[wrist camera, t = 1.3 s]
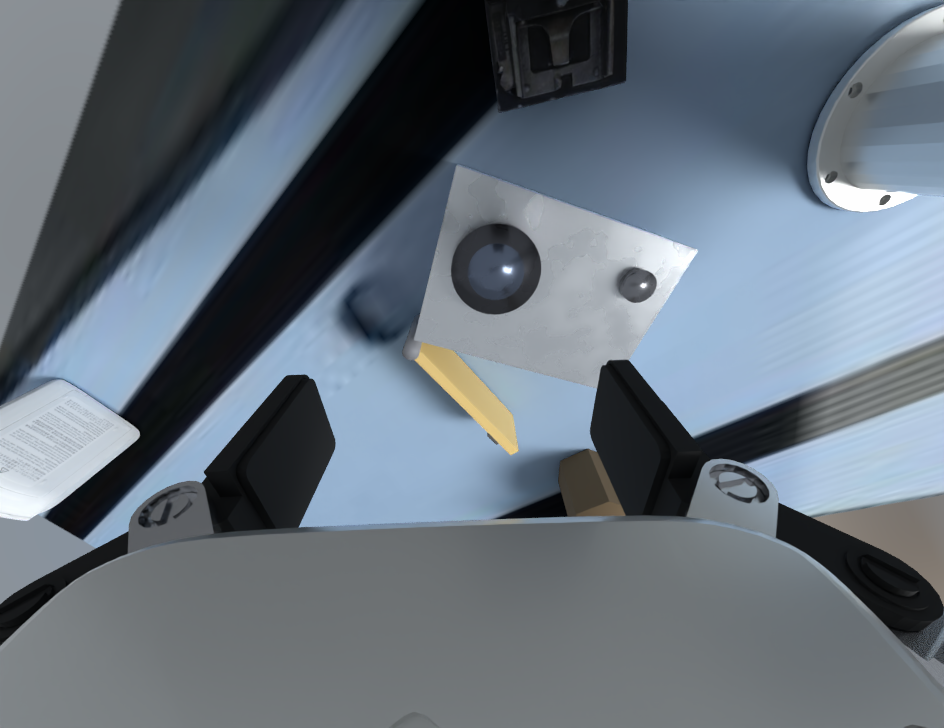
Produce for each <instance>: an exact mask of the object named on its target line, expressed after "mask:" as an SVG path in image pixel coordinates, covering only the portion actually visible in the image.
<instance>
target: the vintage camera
mask: <svg viewBox="0 0 944 728" xmlns="http://www.w3.org/2000/svg"><path fill="white" fill-rule="evenodd" d="M484 1H485V9H486V17H487V25H488V33H489V41H490V49H491V56H492V64H493V71H494V79H495V87H496V95H497V103H498V112H499V113H502V112H506V111H510V110H514V109H518V108H522V107H526V106H530V105H534V104H538V103H542V102H546V101H550V100H555V99H559V98H563V97H568V96H572V95H576V94H580V93H584V92H588V91H593V90H597V89H601V88H605V87H609V86H613V85H617V84H621V83H625V82H626V62H627V17H628V0H484Z"/></svg>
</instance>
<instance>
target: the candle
mask: <svg viewBox="0 0 944 728" xmlns="http://www.w3.org/2000/svg"><path fill="white" fill-rule="evenodd" d="M558 482H559V486H560V490H561V493H562V497H563V500H564V504H565V508H566V511H567V515H568V517H584V516H626V515H625V513H624V511H623V508H622V506H621V504H620V502H619V499H618V497H617V495H616V493H615V491H614V488H613V486H612V484H611V482H610V479H609V477H608V475H607V473H606V470H605V468H604V466H603V464H602V461H601V459H600V457H599V455H598V452H595V451H592V450H590V449H586V450H584V451H582V452H579V453H577V454H575V455H572V456H570V457H568V458H566V459H563V460H561V461H560V467H559V478H558Z"/></svg>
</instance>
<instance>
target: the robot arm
mask: <svg viewBox="0 0 944 728" xmlns="http://www.w3.org/2000/svg"><path fill="white" fill-rule="evenodd" d="M807 170H808V176H809V182H810V184H811V186H812V189H813V191H814V193H815V194H816V195H817V196H818V198H819V199H820V200H821V201H822V202H824V203H825V204H827V205H829V206H830V207H832V208H836V209H840V210H844V211H852V212H871V211H878V210H882V209H886V208H889V207H893V206H895V205H898V204H900V203H902V202H905V201H907V200H909V199H911V198H913V197H915V196H917V195H927V196H941V197H944V4H942V5H940V6H937V7H934V8H931V9H928V10H925V11H923V12H921V13H920V14H918V15H916V16H914V17H912V18H910V19H908V20H906V21H904V22H903V23H901V24H900V25H898V26H897V27H895V28H894V29H893V30H891V31H890V32H888V33H887V34H886V35H884V36H883V37H882V38H880V39H879V40H878V41H877V42H876V43H875V44H874V45H873V46H871V47H870V48H869V49H868V50H867V51H866V52H865V53H864V54H863V55H862V56H861V57H860V58H859V59H858V60H857V61H856V63H855V64H854V65H853V66H852V67H851V68H850V69H849V70H848V71H847V73H846V74H845V75H844V77H843V78H842V79H841V81H840V82H839V84H838V85H837V86H836V88H835V89H834V91H833V92H832V93H831V95H830V97H829V99H828V101H827V102H826V104H825V106H824V108H823V110H822V111H821V113H820V116H819V118H818V121H817V123H816V126H815V128H814V131H813V133H812V137H811V141H810V145H809V150H808V161H807ZM590 434H591V439H592V441H593V443H594V446H595V448H596V450H597V452H598V455H599V457H600V459H601V461H602V464H603V466H604V468H605V470H606V473H607V475H608V477H609V479H610V482H611V484H612V486H613V488H614V491H615V493H616V495H617V497H618V499H619V502H620V504H621V506H622V508H623V511H624V513H625V515H626V516H584V517H554V518H524V519H494V520H468V521H441V522H416V523H391V524H368V525H346V526H323V527H301V528H298V527H299V525H300V523H301V521H302V519H303V517H304V514H305V512H306V510H307V508H308V506H309V504H310V501H311V499H312V497H313V495H314V493H315V491H316V489H317V486H318V484H319V482H320V480H321V478H322V476H323V474H324V471H325V469H326V467H327V465H328V463H329V461H330V459H331V456H332V454H333V452H334V450H335V438H334V435H333V432H332V429H331V427H330V424H329V421H328V418H327V415H326V412H325V409H324V406H323V404H322V401H321V398H320V395H319V392H318V389H317V386H316V383H315V381H314V380H313V379H309V377H308V376H307V375H288V376H286V377H284V379H283V380H282V381H281V382H280V383H279V384H278V386H277V387H276V388H275V389H274V390H273V391H272V393H271V394H270V395H269V396H268V397H267V398H266V400H265V401H264V402H263V403H262V404H261V405H260V407H259V408H258V409H257V410H256V411H255V412H254V414H253V415H252V416H251V417H250V418H249V419H248V421H247V422H246V423H245V424H244V425H243V426H242V428H241V429H240V430H239V431H238V432H237V433H236V435H235V436H234V437H233V438H232V439H231V441H230V442H229V443H228V444H227V445H226V446H225V448H224V449H223V450H222V451H221V452H220V453H219V455H218V456H217V457H216V458H215V459H214V460H213V462H212V463H211V464H210V465H209V466H208V467H207V469H206V470H205V471H204V473H205V475H206V476H207V477H206V478H205V480H204V481H203V482H202V483H199V482H197V481H186V482H181V483H177V484H174V485H172V486H169V487H167V488H165V489H163V490H161V491H159V492H157V493H156V494H154V495H153V496H151V497H150V498H149V499H147V500H146V501H145V502H144V503H143V504H142V505H141V506H139V507H138V508H137V510H136V511H135V512H134V514H133V515H132V517H131V520H130V523H129V531H128V532H126V533H125V534H123V535H121V536H119V537H117V538H115V539H113V540H111V541H110V542H108V543H106V544H104V545H102V546H100V547H98V548H96V549H94V550H93V551H91V552H89V553H87V554H85V555H83V556H81V557H79V558H77V559H76V560H74V561H72V562H70V563H68V564H66V565H64V566H63V567H60V568H59V569H57V570H55V571H53V572H51V573H49V574H47V575H45V576H43V577H42V578H40V579H38V580H36V581H34V582H33V583H31V584H29V585H27V586H26V587H24V588H22V589H21V590H19V591H17V592H16V593H14V594H13V595H11V596H10V597H9V598H7V599H6V600H5V601H4V602H3V603H2V604H0V728H944V606H943V604H942V601H941V599H940V596H939V595H938V593H937V592H936V591H935V590H934V588H933V587H932V586H931V584H930V583H929V582H928V581H927V580H926V579H924V578H923V577H922V576H921V575H920V574H919V573H918V572H917V571H915V570H914V569H913V568H911V567H910V566H908V565H907V564H906V563H904V562H903V561H901V560H900V559H898V558H896V557H894V556H892V555H891V554H889V553H887V552H884V551H883V550H881V549H879V548H876V547H874V546H872V545H870V544H868V543H865V542H863V541H861V540H859V539H857V538H854V537H852V536H850V535H848V534H846V533H843V532H841V531H839V530H837V529H835V528H833V527H831V526H828V525H826V524H824V523H822V522H820V521H817V520H815V519H813V518H811V517H809V516H807V515H804V514H802V513H800V512H798V511H796V510H793V509H791V508H789V507H787V506H785V505H782V504H780V503H778V500H779V498H778V493H777V490H776V489H775V487H774V486H773V484H772V483H771V482H770V481H769V480H768V479H767V478H766V477H765V476H764V475H762V474H761V473H759V472H758V471H756V470H755V469H753V468H751V467H749V466H747V465H744V464H742V463H739V462H736V461H732V460H726V459H715V460H710V459H709V457H708V456H707V455H706V454H705V453H704V451H703V450H702V449H701V448H700V446H699V445H698V444H697V443H696V442H695V440H694V439H693V438H692V437H691V435H690V434H689V433H688V432H687V430H686V429H685V428H684V427H683V426H682V424H681V423H680V422H679V421H678V419H677V418H676V417H675V416H674V415H673V413H672V412H671V411H670V410H669V408H668V407H667V406H666V405H665V403H664V402H663V401H661V399H660V398H659V397H658V396H657V394H656V393H655V392H654V391H653V390H652V388H651V387H650V386H649V385H648V383H647V382H646V381H645V380H644V378H643V377H642V376H641V375H640V374H639V372H638V371H637V370H636V369H635V367H634V366H633V365H632V364H631V362H630V361H629V360H609V361H608V362H607V363H606V365H602V367H601V369H600V375H599V381H598V387H597V392H596V398H595V404H594V410H593V416H592V421H591V427H590Z"/></svg>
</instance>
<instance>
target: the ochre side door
mask: <svg viewBox="0 0 944 728" xmlns="http://www.w3.org/2000/svg"><path fill="white" fill-rule="evenodd" d="M419 317H420V314H419V315H416V316H415V317H414V320H413V322H412V325H411V328H410V331H409V334H408V336H407V339H406V342H405V345H404V347H403V350H402V354H403V356H404V358H406V359H408V360H415V361H416V362H417V363H418V364H419V365H420V366H421V367H422V368H423V369H424V370H425V371H426V372H427V373H428V374H429V375H430V376H431V377H432V378H433V379H434V380H435V381H436V382H437V383H438V384H439V385H440V386H441V387H442V388H443V389H444V390H445V391H446V392H447V393H448V394H449V395H450V396H451V397H452V398H453V399H455V400H456V401H457V402H458V403H459V404H460V405H461V406H462V407H463V408H464V409H465V410H466V411H467V412H468V413H469V414H470V415H471V416H472V417H473V418H474V419H475V420H476V421H477V422H478V423H479V424H480V425H481V426H482V427H483V428H484V429H485V430H486V431H487V436H488V437H489V438H490V439H491V440H492V441H493V442H494V443H495V444H496V445H497V444H500V445H501V446H502V447H503V448H504V449H505V450H506V451H507V452H508V453H509V454H510V455H512V454H514V453H516V452H518V451H519V450H518V444H517V438H516V432H515V426H514V420H513V415H512V414H511V412H510V411H509V410H508V409H507V408H506V407H505V406H504V405H503V404H502V403H501V402H500V401H499V399H498V398H497V397H496V396H495V395H494V394H493V393H492V392H491V391H490V390H489V389H488V388H487V386H486V385H485V384H484V383H483V382H482V381H481V380H480V379H479V378H478V377H477V376H476V375H475V373H474V372H473V371H472V370H471V369H470V368H469V367H468V366H467V365H466V364H465V363H464V362H463V360H462V359H461V358H460V357H459V356H458V355H457V354H456V353H455V352H454V351H453V350H449V349H446V348H442V347H438V346H434V345H431V344H427V343H423V342H419V341H415V340H414V337H415V333H416V329H417V325H418V321H419Z"/></svg>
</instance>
